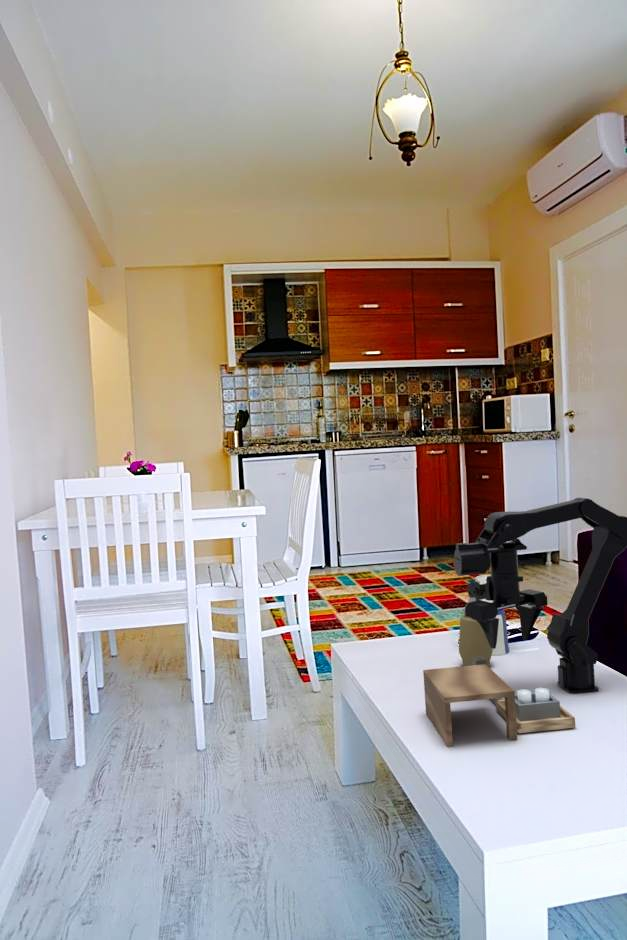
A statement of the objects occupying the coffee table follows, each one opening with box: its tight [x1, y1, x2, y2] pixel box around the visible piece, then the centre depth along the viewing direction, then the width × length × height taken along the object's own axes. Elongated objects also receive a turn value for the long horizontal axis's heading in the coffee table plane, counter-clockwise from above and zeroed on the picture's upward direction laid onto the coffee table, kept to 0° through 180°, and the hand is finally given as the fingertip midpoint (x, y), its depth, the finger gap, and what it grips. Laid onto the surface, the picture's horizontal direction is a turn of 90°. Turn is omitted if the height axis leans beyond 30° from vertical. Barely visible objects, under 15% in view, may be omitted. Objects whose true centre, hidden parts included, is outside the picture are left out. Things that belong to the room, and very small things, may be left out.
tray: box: [515, 687, 561, 721], centre depth 133 cm, size 8×6×4 cm
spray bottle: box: [474, 573, 510, 657], centre depth 177 cm, size 8×9×25 cm
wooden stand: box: [422, 664, 518, 748], centre depth 132 cm, size 13×16×9 cm
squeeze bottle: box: [458, 596, 493, 667], centre depth 167 cm, size 8×8×18 cm
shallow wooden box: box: [472, 657, 576, 734], centre depth 141 cm, size 11×27×6 cm, turn 5°
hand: (509, 644), depth 147 cm, fingers open, 9 cm apart
